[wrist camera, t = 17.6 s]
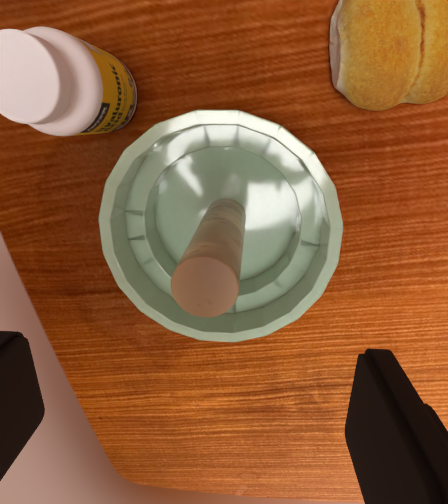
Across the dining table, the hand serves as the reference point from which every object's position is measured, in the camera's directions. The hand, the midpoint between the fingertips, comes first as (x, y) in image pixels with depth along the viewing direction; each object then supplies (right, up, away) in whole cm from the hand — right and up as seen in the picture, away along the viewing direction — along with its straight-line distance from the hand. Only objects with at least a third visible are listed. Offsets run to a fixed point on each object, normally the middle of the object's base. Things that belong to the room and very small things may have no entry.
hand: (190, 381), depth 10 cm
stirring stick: (+1, +6, +17) cm, 18 cm away
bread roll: (+12, +17, +13) cm, 25 cm away
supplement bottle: (-8, +15, +15) cm, 23 cm away
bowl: (+1, +7, +18) cm, 19 cm away
